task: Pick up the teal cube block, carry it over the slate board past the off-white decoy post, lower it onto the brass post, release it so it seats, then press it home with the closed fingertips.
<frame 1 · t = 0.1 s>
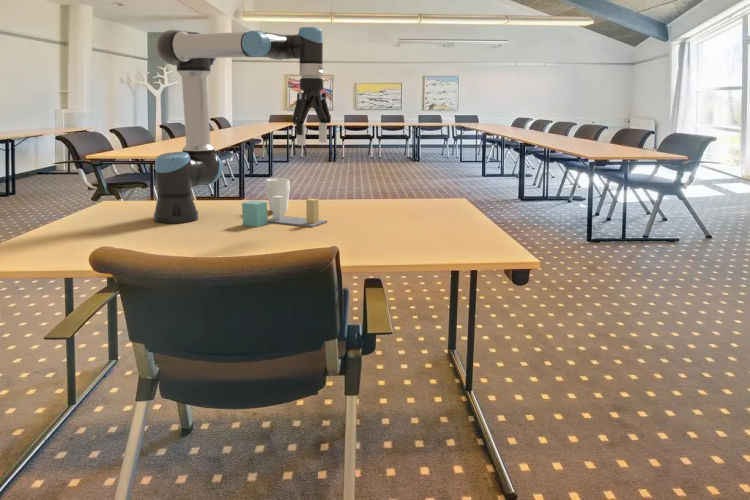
hand: (312, 143, 210), 28 cm above the table, fingers open, 13 cm apart
teal cube block: (255, 224, 218), on the table
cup: (278, 211, 244), on the table
post board: (295, 222, 223), on the table
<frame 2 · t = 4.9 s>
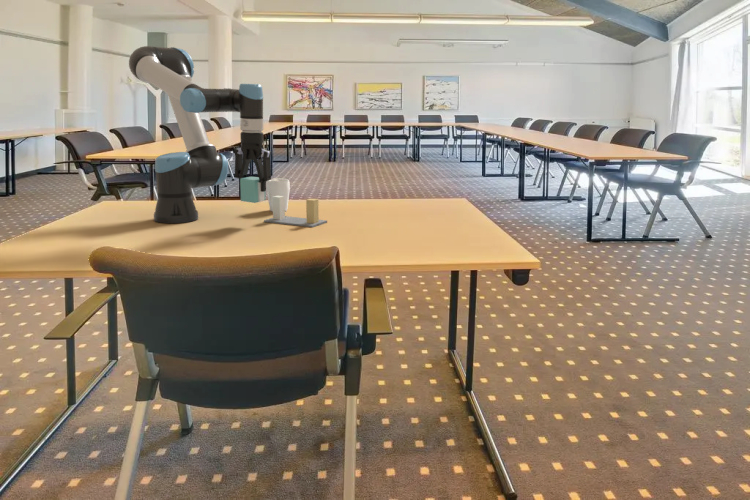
hand: (253, 199, 216), 9 cm above the table, fingers closed on teal cube block, 6 cm apart
teal cube block: (253, 200, 216), point 8 cm above the table, touching gripper
everything else where it was.
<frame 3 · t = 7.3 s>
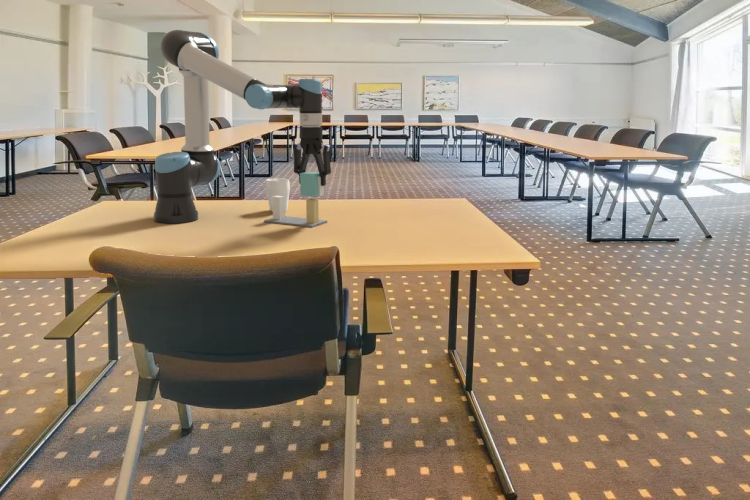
hand: (312, 194, 217), 10 cm above the table, fingers closed on teal cube block, 6 cm apart
teal cube block: (312, 195, 217), point 10 cm above the table, touching gripper
everything else where it was.
when the fingers open (2 cm above the table, at t = 9.8 s): teal cube block stays where it is, resting on post board.
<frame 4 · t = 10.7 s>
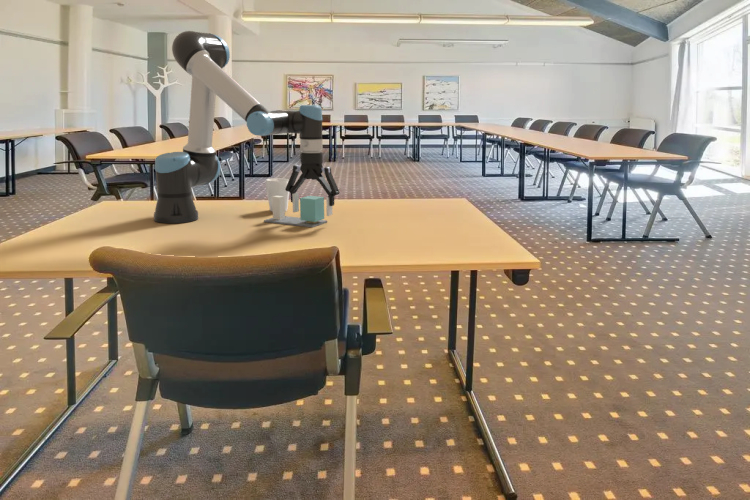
hand: (312, 213, 219), 4 cm above the table, fingers open, 13 cm apart
teal cube block: (312, 219, 219), point 2 cm above the table, touching post board
everything else where it was.
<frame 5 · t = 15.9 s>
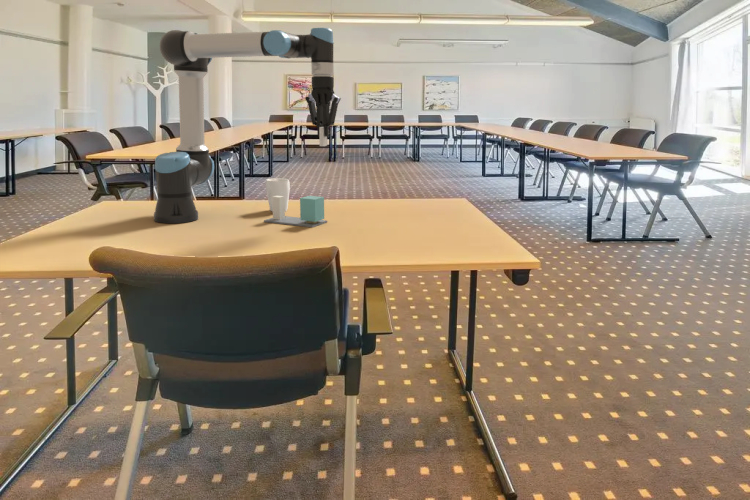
hand: (323, 145, 220), 26 cm above the table, fingers closed
nothing on the table moved.
at the end: teal cube block 0.1 cm from the target spot on the post board, point 1.6 cm above the post board's base; the gripper is holding nothing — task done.
